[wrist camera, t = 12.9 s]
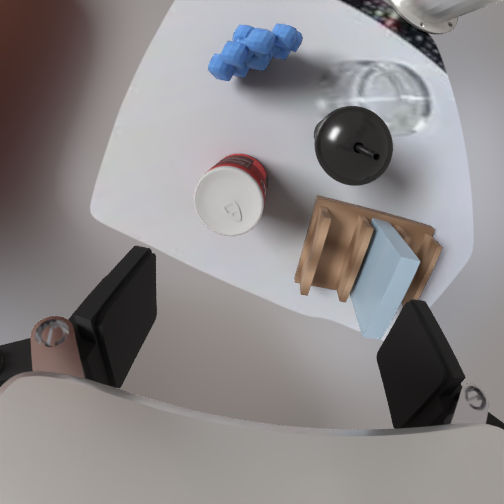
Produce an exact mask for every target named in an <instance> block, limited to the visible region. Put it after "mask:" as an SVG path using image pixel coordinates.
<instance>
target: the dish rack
mask: <svg viewBox="0 0 504 504" xmlns="http://www.w3.org/2000/svg"><path fill="white" fill-rule="evenodd" d="M372 218H375V219H379V220H383V221H387V222H389V223H390V224H391V225H392V226H393V228H394V229H395V230H396V231H397V232H398V234H399V235H400V236H401V237H402V238H403V240H404V241H405V242H406V243H407V245H408V246H409V247H410V248H411V250H412V251H413V252H414V254H415V255H416V256H417V257H418V259H419V260H420V261H421V262H420V264H419V266H418V269H417V271H416V273H415V275H414V277H413V279H412V281H411V284H410V286H409V288H408V290H407V292H406V294H405V296H404V298H403V300H402V304H403V306H404V305H405V303H406V302H409V301H410V300H411V299H415V300H418V299H419V297H420V295H421V293H422V291H423V289H424V287H425V285H426V283H427V281H428V279H429V277H430V275H431V272H432V270H433V268H434V266H435V264H436V262H437V259H438V257H439V255H440V252H441V250H442V248H443V247H442V246H441V245H440V244H439V243H438V242H437V241H436V240H435V239H434V238H433V237H432V236H433V233H434V231H435V229H434V228H433V227H431V226H429V225H426V224H423V223H419V222H416V221H413V220H409V219H406V218H403V217H399V216H396V215H392V214H388V213H385V212H381V211H377V210H374V209H370V208H366V207H362V206H359V205H355V204H351V203H347V202H343V201H338V200H334V199H330V198H326V197H322V196H317V197H316V201H315V205H314V209H313V213H312V216H311V220H310V224H309V228H308V231H307V235H306V239H305V242H304V246H303V250H302V253H301V257H300V260H299V264H298V267H297V271H296V274H295V283H300V291H301V295H308V293H309V290H310V287H311V286H317V287H322V288H328V289H333V290H337V293H338V297H339V301H341V302H346V301H347V298H348V296H349V293H350V291H351V289H352V286H353V284H354V281H355V279H356V276H357V274H358V271H359V269H360V266H361V263H362V261H363V258H364V255H365V253H366V250H367V247H368V244H369V242H370V239H371V236H372V233H373V230H374V228H373V227H372V225H371V221H372Z"/></svg>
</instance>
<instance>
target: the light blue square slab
mask: <svg viewBox="0 0 504 504" xmlns="http://www.w3.org/2000/svg"><path fill="white" fill-rule="evenodd" d="M371 225H372V227H373V228H374V230H373V233H372V236H371V239H370V242H369V244H368V247H367V250H366V253H365V255H364V258H363V261H362V263H361V266H360V269H359V271H358V274H357V276H356V279H355V281H354V284H353V286H352V289H351V291H350V296H351V299H352V302H353V305H354V309H355V312H356V316H357V319H358V323H359V326H360V330H361V333H362V337H366V338H374V339H381V338H382V336H383V335H384V333H385V331H386V329H387V328H388V326H389V324H390V322H391V320H392V319H393V317H394V315H395V313H396V311H397V309H398V307H399V306H400V304H401V302H402V300H403V298H404V296H405V294H406V292H407V290H408V288H409V286H410V284H411V281H412V279H413V277H414V275H415V273H416V271H417V269H418V266H419V264H420V262H421V261H420V260H419V259H418V257H417V256H416V255H415V254H414V252H413V251H412V250H411V248H410V247H409V246H408V245H407V243H406V242H405V241H404V240H403V238H402V237H401V236H400V235H399V234H398V232H397V231H396V230H395V229H394V228H393V226H392V225H391V224H390V223H389V222H387V221H383V220H379V219H375V218H372V221H371Z"/></svg>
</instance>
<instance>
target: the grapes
mask: <svg viewBox="0 0 504 504" xmlns="http://www.w3.org/2000/svg"><path fill="white" fill-rule="evenodd" d="M302 39H303V37H302V34H301V33H300V32H298V31H297V30H296V28H294V27H292V26H289V25H285V24H276V25H275V27H274V28H273V30H272V31H269V30H266V29H260V28H254V27H251V26H248V25H239V26H238V27H237V28H236V30H235V32H234V34H233V41H228V42H227V43H226V44H225V46H224V48H223V50H222V52H221V54H214V55H213V57H212V59H211V61H210V63H209V65H208V70H209V72H210V73H211V74H212V75H213V76H214V77H215V78H216V79H219V80H224V81H230V79H231V78H232V76H233V75H234V76H237V77H243V78H244V77H245V76H246V74H247V73H248V71H249V69H251V68H252V69H256V70H262V71H263V70H264V69H266V68H267V66H268V65H269V63H270V60H271V59H272V58H273V57H274V58H277V59H282V60H285V59H286V58H287V56H288V55H289V53H290V51H293V52H296V51H297V49H298V48H299V46H300V45H301V42H302Z"/></svg>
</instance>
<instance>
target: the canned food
mask: <svg viewBox="0 0 504 504" xmlns="http://www.w3.org/2000/svg"><path fill="white" fill-rule="evenodd" d="M267 187H268V178H267V174H266V172H265V169H264V168H263V166H262V165H261V164H260V163H259V162H258V161H257V160H256V159H254V158H253V157H251V156H248V155H245V154H232V155H229V156H227V157H225V158H224V159H222V160H221V161H220V162H218V163H217V164H216V165H215V166H213V167H212V168H211V169H210V170H209V171H207V172H206V173H205V174H204V175H203V176H202V177H201V179H200V180H199V182H198V184H197V186H196V188H195V191H194V207H195V210H196V213H197V215H198V217H199V218H200V220H201V221H202V222H203V224H204V225H206V226H207V227H208V228H209V229H211V230H212V231H214V232H216V233H218V234H221V235H225V236H237V235H242V234H244V233H247V232H248V231H250V230H251V229H253V228H254V227H255V226H256V224H257V223H258V221H259V220H260V218H261V216H262V213H263V210H264V205H265V199H266V193H267Z"/></svg>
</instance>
